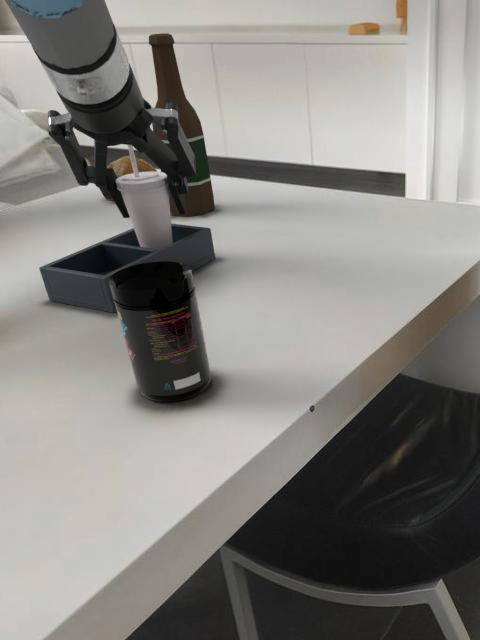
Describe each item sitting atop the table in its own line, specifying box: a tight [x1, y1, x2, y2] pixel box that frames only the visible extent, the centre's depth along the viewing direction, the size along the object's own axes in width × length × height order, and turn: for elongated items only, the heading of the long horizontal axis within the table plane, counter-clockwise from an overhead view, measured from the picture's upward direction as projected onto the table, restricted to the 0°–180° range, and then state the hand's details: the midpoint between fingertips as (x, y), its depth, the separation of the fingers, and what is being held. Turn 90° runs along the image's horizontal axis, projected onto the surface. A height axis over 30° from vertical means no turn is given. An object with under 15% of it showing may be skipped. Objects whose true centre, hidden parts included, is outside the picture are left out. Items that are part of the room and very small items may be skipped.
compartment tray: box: [38, 223, 216, 313], centre depth 85 cm, size 10×19×4 cm, turn 154°
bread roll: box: [106, 155, 159, 202], centre depth 119 cm, size 10×10×8 cm
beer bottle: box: [148, 32, 216, 218], centre depth 104 cm, size 8×8×24 cm
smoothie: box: [116, 145, 173, 249], centre depth 84 cm, size 6×6×14 cm
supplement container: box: [109, 261, 212, 403], centre depth 60 cm, size 7×7×10 cm
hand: (154, 206), depth 88 cm, fingers closed on smoothie, 6 cm apart
